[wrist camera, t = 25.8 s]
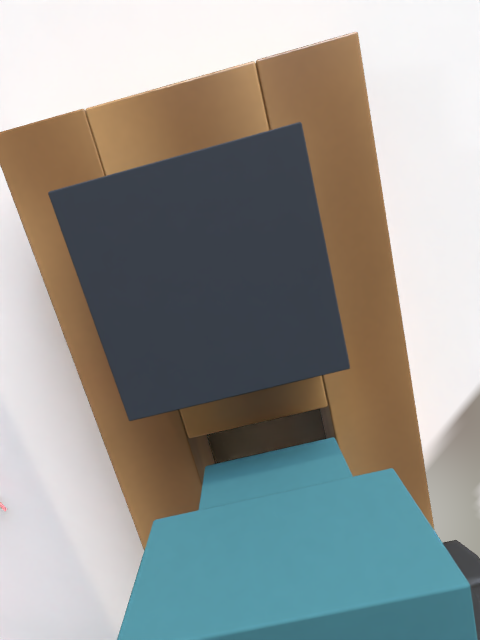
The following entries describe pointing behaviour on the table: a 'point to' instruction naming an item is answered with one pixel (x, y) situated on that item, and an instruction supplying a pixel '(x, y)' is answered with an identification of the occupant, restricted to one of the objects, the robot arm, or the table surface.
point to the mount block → (341, 242)
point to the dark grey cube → (207, 272)
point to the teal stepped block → (298, 558)
